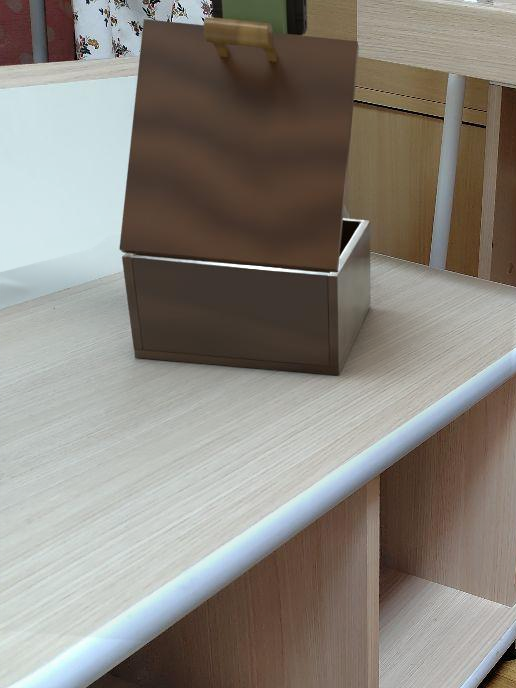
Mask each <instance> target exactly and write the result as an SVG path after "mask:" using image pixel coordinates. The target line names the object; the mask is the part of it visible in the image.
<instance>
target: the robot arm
mask: <svg viewBox="0 0 516 688" xmlns="http://www.w3.org/2000/svg"><path fill="white" fill-rule="evenodd" d="M307 1H308V0H286V12H287V34H292V35H302V36H304V35H305V34H306V33H307V30H308V3H307ZM211 10H212V17H214V18H223V10H222V0H211Z"/></svg>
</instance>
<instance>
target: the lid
mask: <svg viewBox="0 0 516 688" xmlns="http://www.w3.org/2000/svg"><path fill="white" fill-rule="evenodd" d="M359 49H360V48H359V42H358V41H357V40H349V39H339V38H332V37H331V38H330V37H321V36H320V37H319V36H311V35H292V34H283V33H273V32H272V27H271V24H270V23H262V22H252V21H243V20H233V19H224V18H214V17H213V16H206V17H204V20H203V24H195V23H186V22H177V21H176V22H175V21H165V20H158V19H148V18H144V19H143V23H142V32H141V42H140V51H139V60H138V62H139V63H138V69H137V79H136V87H135V98H134V106H133V107H134V108H133V117H132V124H131V125H132V126H131V136H130V144H129V145H130V146H129V155H128V164H127V173H126V183H125V192H124V200H123V201H124V202H123V210H122V220H121V231H120V240H119V247H118V248H119V251H120V252H121V253H124V254H126V253H132V254H143V255H153V256H164V257H175V258H186V259H196V260H207V261H218V262H229V263H240V264H250V265H261V266H272V267H283V268H294V269H304V270H315V271H326V272H337V273H338V267H339V256H340V245H341V235H342V224H343V213H344V206H345V202H346V201H345V200H346V191H347V190H346V189H347V180H348V178H347V177H348V167H349V159H350V158H349V157H350V146H351V136H352V135H351V134H352V125H353V124H352V123H353V113H354V103H355V91H356V80H357V71H358V61H359V59H358V58H359Z"/></svg>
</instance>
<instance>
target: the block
mask: <svg viewBox="0 0 516 688" xmlns="http://www.w3.org/2000/svg"><path fill="white" fill-rule="evenodd" d="M222 10H223V18H224V19H233V20H243V21H252V22H262V23H270V24H271V27H272V32H273V33H283V34H287V12H286V0H222Z"/></svg>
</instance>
